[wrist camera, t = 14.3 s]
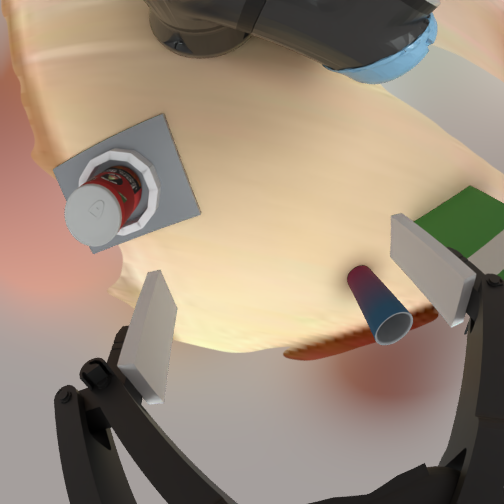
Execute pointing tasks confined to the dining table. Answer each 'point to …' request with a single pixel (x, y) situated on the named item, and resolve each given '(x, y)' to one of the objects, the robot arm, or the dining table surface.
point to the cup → (379, 306)
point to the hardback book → (470, 228)
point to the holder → (148, 171)
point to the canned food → (102, 205)
